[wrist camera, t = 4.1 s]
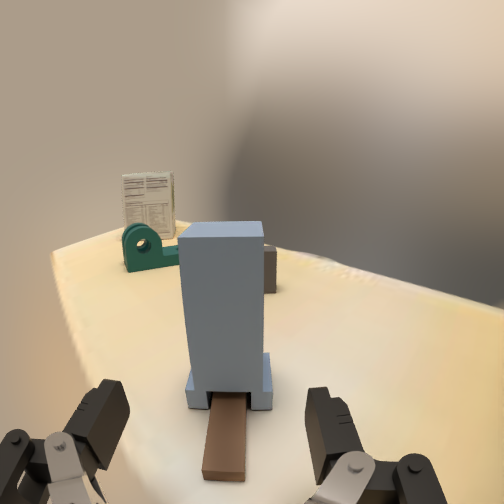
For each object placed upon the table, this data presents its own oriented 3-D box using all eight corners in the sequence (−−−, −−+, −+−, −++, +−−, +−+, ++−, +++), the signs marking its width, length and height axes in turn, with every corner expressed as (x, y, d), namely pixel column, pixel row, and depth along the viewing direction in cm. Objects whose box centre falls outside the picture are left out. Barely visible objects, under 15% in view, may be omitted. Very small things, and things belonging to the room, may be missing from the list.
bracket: (128, 273, 50) (123, 230, 48) (124, 263, 55) (120, 224, 53) (219, 258, 58) (218, 219, 56) (207, 251, 64) (205, 214, 62)
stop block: (274, 285, 44) (275, 245, 43) (276, 292, 41) (276, 251, 40) (207, 285, 44) (205, 246, 43) (204, 293, 41) (201, 252, 40)
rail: (248, 293, 41) (248, 285, 41) (244, 481, 14) (243, 471, 13) (231, 293, 41) (231, 285, 41) (204, 479, 14) (201, 470, 13)
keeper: (268, 370, 25) (270, 221, 21) (271, 409, 20) (276, 236, 16) (197, 369, 25) (184, 222, 21) (188, 407, 20) (165, 237, 16)
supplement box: (174, 239, 75) (170, 170, 70) (125, 242, 73) (120, 174, 68) (176, 229, 88) (174, 171, 83) (134, 232, 85) (130, 174, 81)
